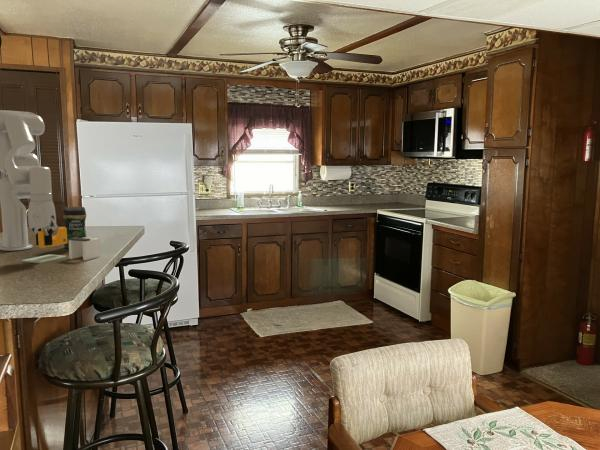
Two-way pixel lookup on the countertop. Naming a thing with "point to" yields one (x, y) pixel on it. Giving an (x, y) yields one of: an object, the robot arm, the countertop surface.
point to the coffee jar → (74, 223)
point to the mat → (44, 258)
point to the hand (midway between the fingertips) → (44, 244)
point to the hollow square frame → (84, 248)
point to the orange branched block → (53, 238)
